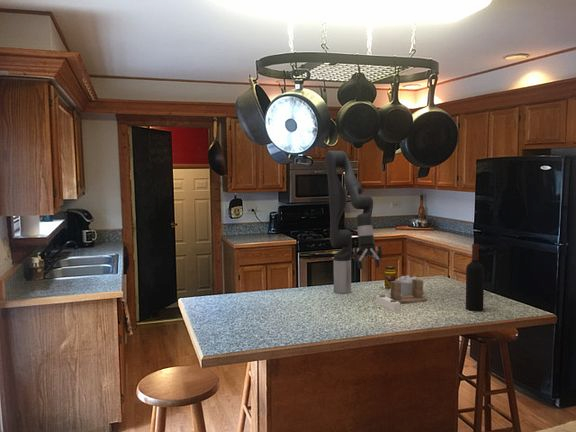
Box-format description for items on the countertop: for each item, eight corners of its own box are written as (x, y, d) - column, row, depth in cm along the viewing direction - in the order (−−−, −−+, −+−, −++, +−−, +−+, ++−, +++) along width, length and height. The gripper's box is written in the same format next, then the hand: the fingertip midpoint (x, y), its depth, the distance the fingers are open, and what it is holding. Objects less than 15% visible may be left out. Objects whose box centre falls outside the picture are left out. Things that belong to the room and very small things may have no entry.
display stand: (386, 299, 240) (386, 280, 240) (416, 296, 245) (416, 277, 244) (396, 304, 231) (396, 284, 230) (427, 301, 235) (427, 281, 235)
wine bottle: (462, 309, 220) (463, 244, 218) (469, 305, 226) (470, 242, 223) (479, 312, 215) (480, 246, 213) (485, 308, 221) (487, 243, 218)
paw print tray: (404, 296, 245) (404, 280, 244) (392, 290, 258) (392, 274, 257) (423, 295, 248) (423, 278, 247) (410, 289, 260) (410, 273, 259)
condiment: (390, 290, 258) (390, 268, 257) (378, 287, 265) (378, 266, 264) (399, 288, 263) (399, 266, 262) (387, 285, 270) (387, 264, 268)
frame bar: (375, 303, 234) (375, 294, 234) (382, 302, 236) (382, 293, 235) (393, 312, 219) (393, 302, 219) (400, 311, 221) (400, 301, 220)
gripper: (376, 235, 242) (379, 267, 240) (349, 236, 238) (352, 269, 236) (382, 233, 235) (385, 267, 233) (354, 235, 231) (358, 269, 229)
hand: (369, 268), depth 234 cm, fingers open, 8 cm apart
